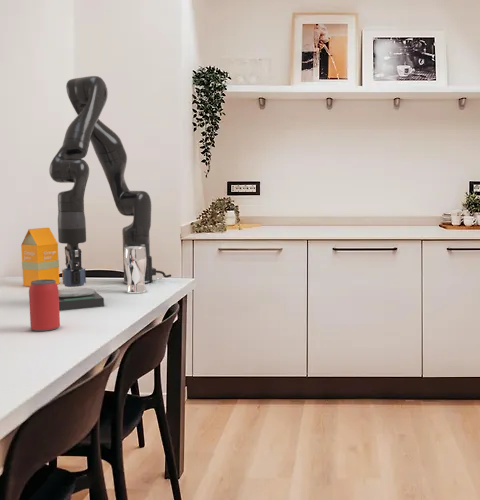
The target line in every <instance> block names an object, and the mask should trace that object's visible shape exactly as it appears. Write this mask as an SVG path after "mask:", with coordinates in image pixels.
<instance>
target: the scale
mask: <svg viewBox="0 0 480 500" xmlns="http://www.w3.org/2000/svg"><path fill="white" fill-rule="evenodd" d="M100 307H105V297H103V296H102V295H100V294H99V293H98V292H97V291H95V293H94V294H91V295H87V296H80V297H59V312H61V311H69V310H70V311H71V310H79V309H92V308H100Z"/></svg>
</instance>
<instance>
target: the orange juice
mask: <svg viewBox="0 0 480 500" xmlns="http://www.w3.org/2000/svg"><path fill="white" fill-rule="evenodd" d="M20 247H21V249H20V250H21V269H22V287H30V285H31V282H32V281H35V280H45V279H50V280H55V281H56V284H57V285H59V284H60V283H61V281H60V259H59V242H58V241H57V239H56V238H55V235H54V234H53V231H52V230H51V228H50V227H38V228H28V230H27V232H26V234H25V236H24V239H23V241H22V243H21V246H20Z"/></svg>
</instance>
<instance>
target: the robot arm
mask: <svg viewBox="0 0 480 500" xmlns="http://www.w3.org/2000/svg"><path fill="white" fill-rule="evenodd" d="M65 86H66V87H65V89H66V94H67V97H68V99H69V102H70V104H71V105H72V108H73V109H74V111H75V113H76V115H77V116H76V117H75V118H74V119H73V120H72V121H71V122H70V124H69V125H68V127H67V128H66V131H65V134H64V138H63V142H62V145H61V147H60V148H59V150H58V151H57V153H55V155H54V157H52V160H51V162H50V164H49V169H48V171H49V172H48V173H49V176H50V178H51V179H52V181H54V182H55V183H59V184H63V183H64V184H73V186H72V188H71V189H67V190H64V191H60V192H58V194H57V237H58V241H57V242H58V244H63V245H65V244H66V245H65V246H64V255H65V257H64V260H65V263H64V264H65V266H66V267H65V268H71V276H72V284H80V270H81V269H82V268H83V267H82V249H81V248H80V247H79V245H80V244H84V243H86V242H87V225H86V223H87V222H86V214H85V192H86V188H87V184H88V180H89V177H90V167H89V164H88V162H87V161H86V160H84V158H86V156H87V155H88V151H89V147H90V143H91V145H92V148H93V151H94V153H95V155H96V158H97V160H98V162H99V164H100V166H101V168H102V170H103V173H104V175H105V178H106V181H107V183H108V185H109V189H110V192H111V195H112V198H113V201H114V204H115V207H116V209H117V211H118V213H119V214H121V215H122V216H124V217H133V218H132V222H131V223H130V224H129V225H126V226H124V227H122V230H121V232H122V233H121V235H122V263H123V284H124V285H125V284H126V285H128V280H127V274H126V270H125V264H124V250H125V247H129V246H144V247H145V249H146V271H145V278H144V282H145V284H149V283H153V276H157V274H161V275H162V276H163V278H171V277H172V274H166V273H165V272H164V271H163V270H157V268H155V267H153V257H152V256H151V244H150V241H151V240H150V239H151V238H150V230H151V227H152V199H151V196H150V194H149V193H148V192H147V191H145V190H130V189H129V187H128V185H127V183H126V179H125V172H126V167H127V164H128V163H127V162H128V155H127V152H126V149H125V147H124V144H123V142H122V140H121V138H120V136H119V135H118V134H117V133H116V132H115V131H114V130H112V129H111V128H110V127H109V126H108V125H106V124H105V123H104V122H102V120H100V119H99V118H100V116H101V114H102V112H103V110H104V108H105V106H106V103H107V100H108V94H109V92H108V87H107V84H106V82H105V80H104V79H103V78H101V77H100V76H98V75H89V76H81V77H75V78H71V79H68V80H67V82H66V85H65Z"/></svg>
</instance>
